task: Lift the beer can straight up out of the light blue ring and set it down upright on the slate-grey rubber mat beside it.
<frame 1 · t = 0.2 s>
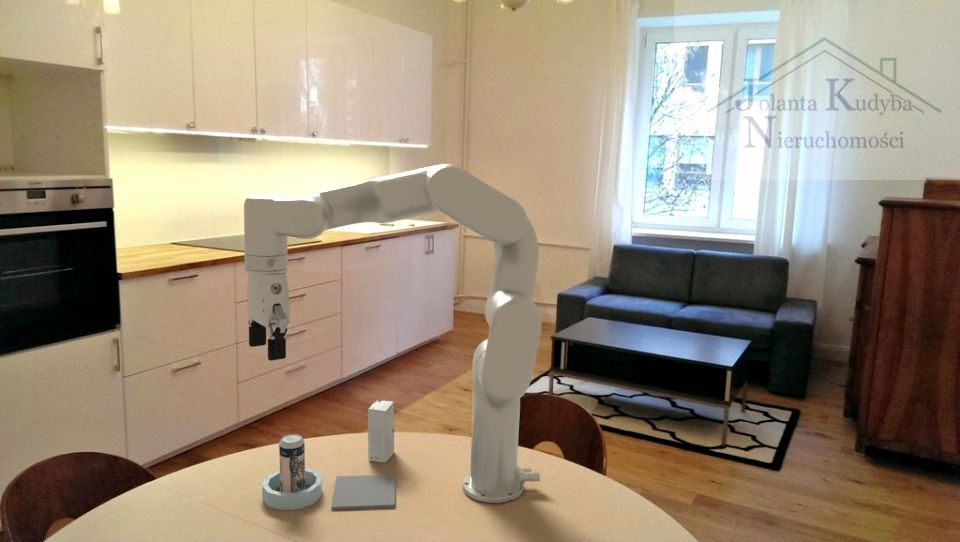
hand: (267, 352, 125), 29 cm above the table, tool pointing down, fingers open, 9 cm apart
light blue ring: (292, 495, 131), on the table
mat: (364, 492, 133), on the table
beer can: (292, 496, 131), resting in light blue ring
skincare box: (381, 457, 149), on the table
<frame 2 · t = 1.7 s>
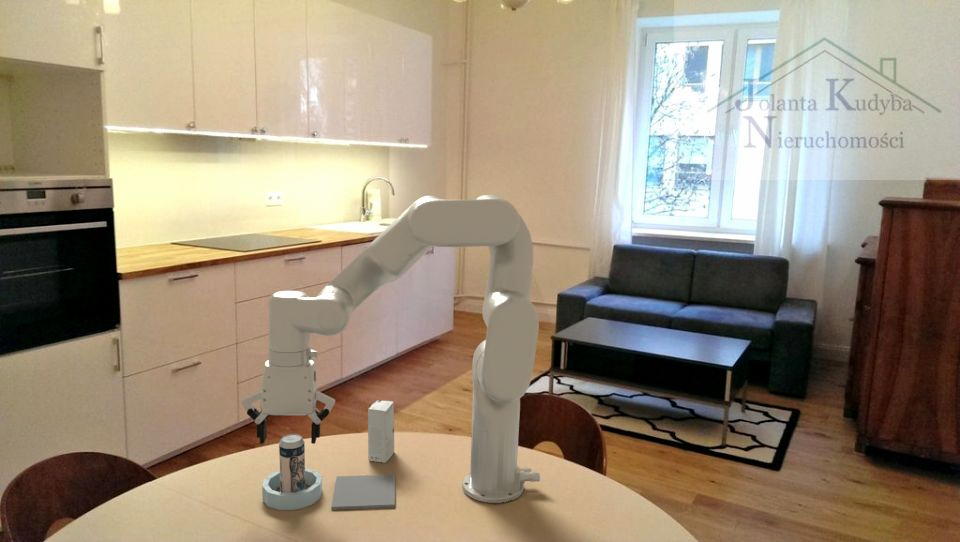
hand: (288, 440, 129), 11 cm above the table, tool pointing down, fingers open, 9 cm apart
nothing on the table moved.
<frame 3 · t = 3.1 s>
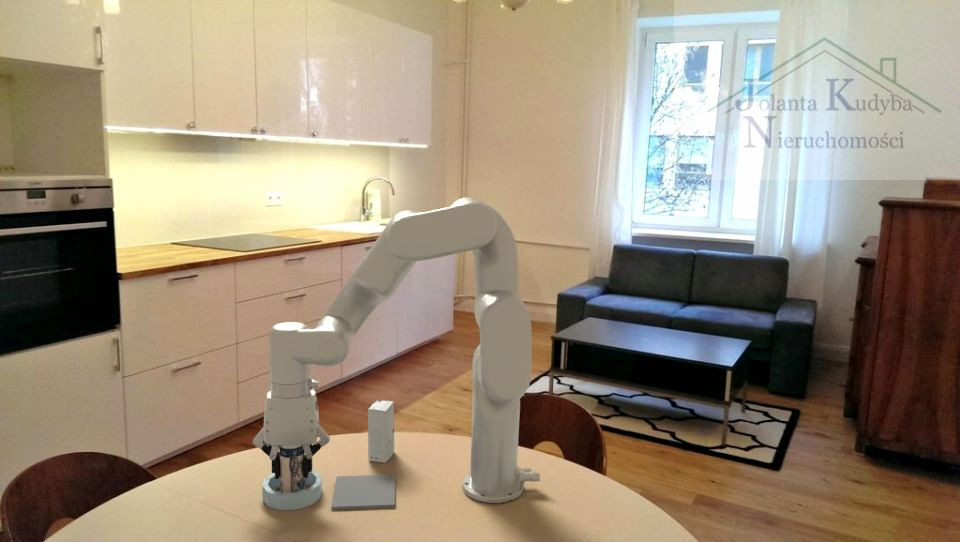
hand: (292, 474, 130), 4 cm above the table, tool pointing down, fingers closed on beer can, 4 cm apart
beer can: (292, 496, 131), resting in light blue ring, touching gripper
everything else where it was.
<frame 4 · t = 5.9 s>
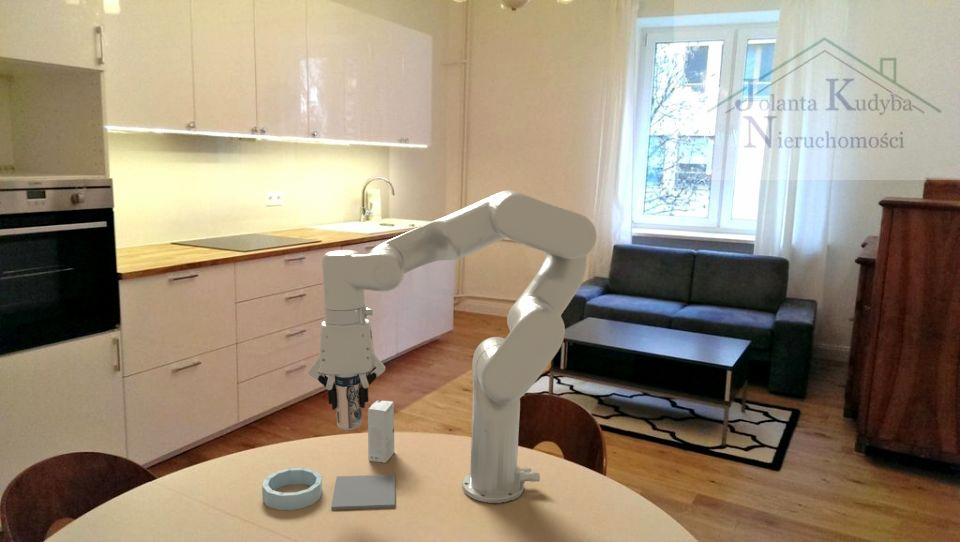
hand: (348, 405, 129), 19 cm above the table, tool pointing down, fingers closed on beer can, 4 cm apart
beer can: (349, 427, 130), point 14 cm above the table, touching gripper
everything else where it was.
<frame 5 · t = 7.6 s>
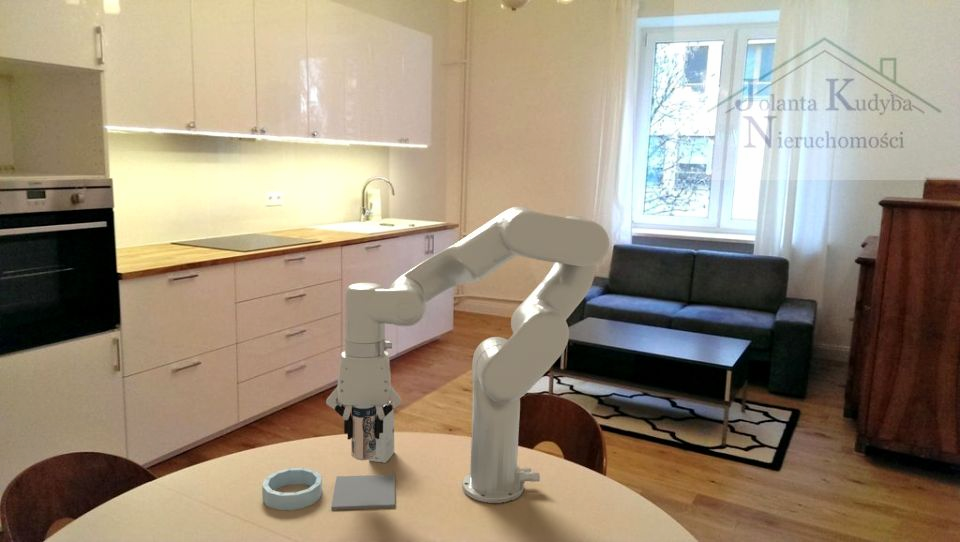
hand: (363, 435, 130), 12 cm above the table, tool pointing down, fingers closed on beer can, 4 cm apart
beer can: (363, 457, 131), point 8 cm above the table, touching gripper
everything else where it was.
when the fingers open (6 cm above the table, at t = 9.0 s): beer can drops 1 cm, resting on mat.
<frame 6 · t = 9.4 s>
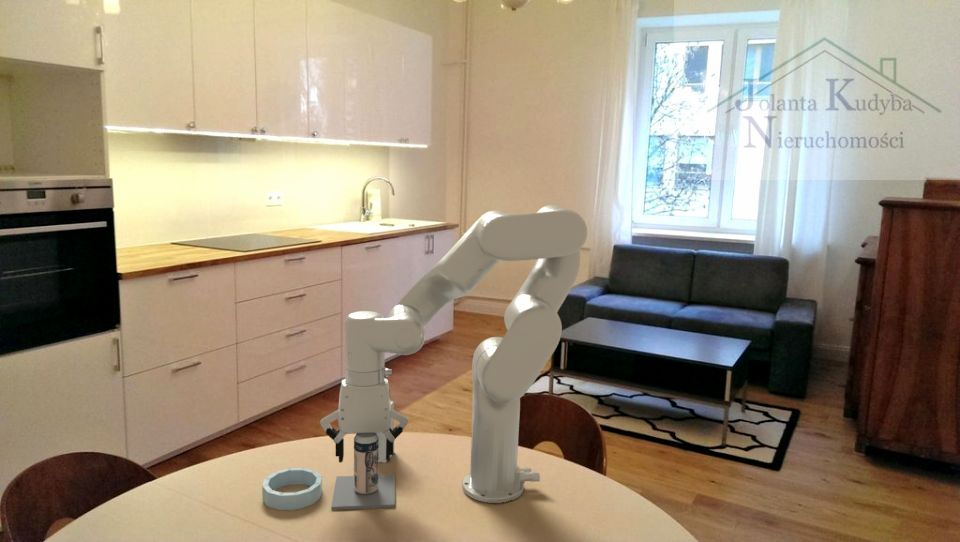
hand: (364, 458, 131), 7 cm above the table, tool pointing down, fingers open, 8 cm apart
beer can: (366, 490, 132), resting on mat
everything else where it was.
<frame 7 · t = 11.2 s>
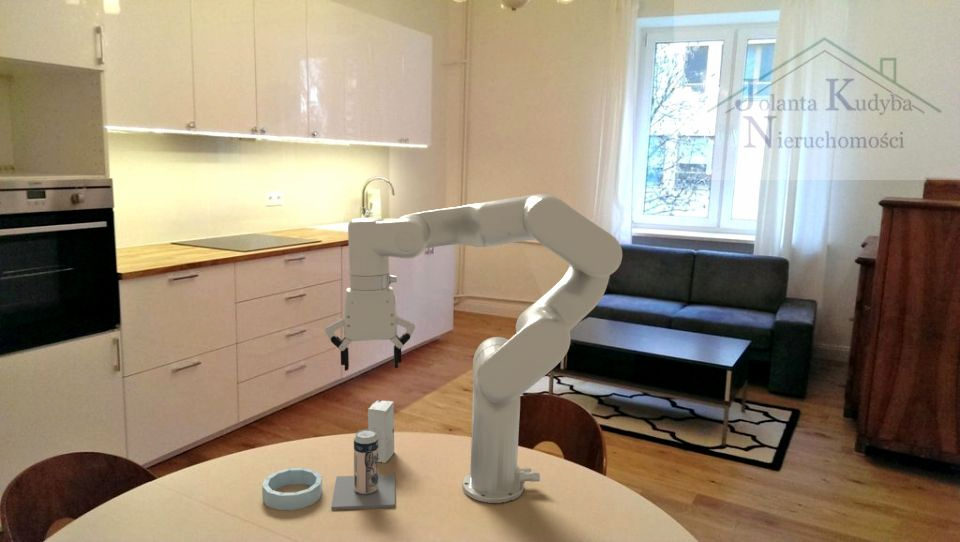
hand: (371, 367, 130), 25 cm above the table, tool pointing down, fingers open, 9 cm apart
nothing on the table moved.
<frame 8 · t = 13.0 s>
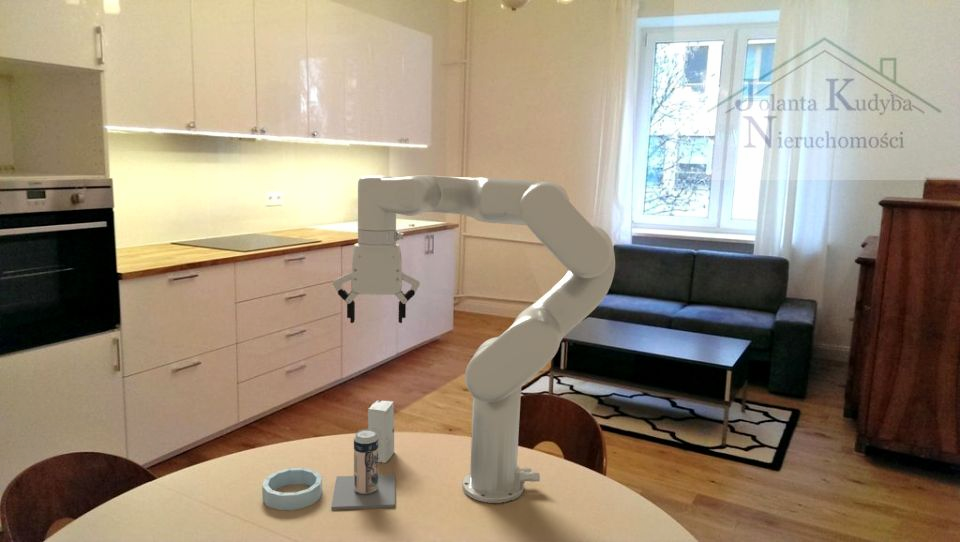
hand: (376, 321, 135), 33 cm above the table, tool pointing down, fingers open, 9 cm apart
nothing on the table moved.
at the end: beer can inside the target area on the mat (0.3 cm from its centre), point 0.4 cm above the mat's base; beer can tilted 0°; the gripper is holding nothing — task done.
